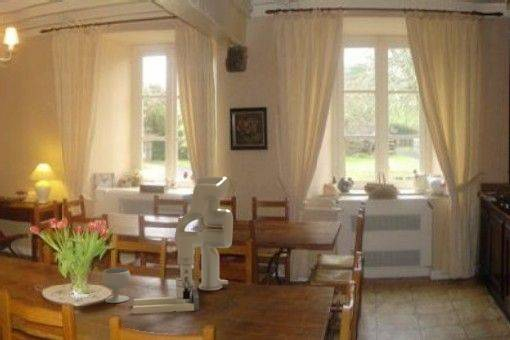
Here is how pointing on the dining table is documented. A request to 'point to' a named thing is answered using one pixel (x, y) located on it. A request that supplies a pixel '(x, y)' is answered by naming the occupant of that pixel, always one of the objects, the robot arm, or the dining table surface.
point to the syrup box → (180, 292)
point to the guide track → (164, 304)
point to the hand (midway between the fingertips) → (186, 295)
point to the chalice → (116, 283)
